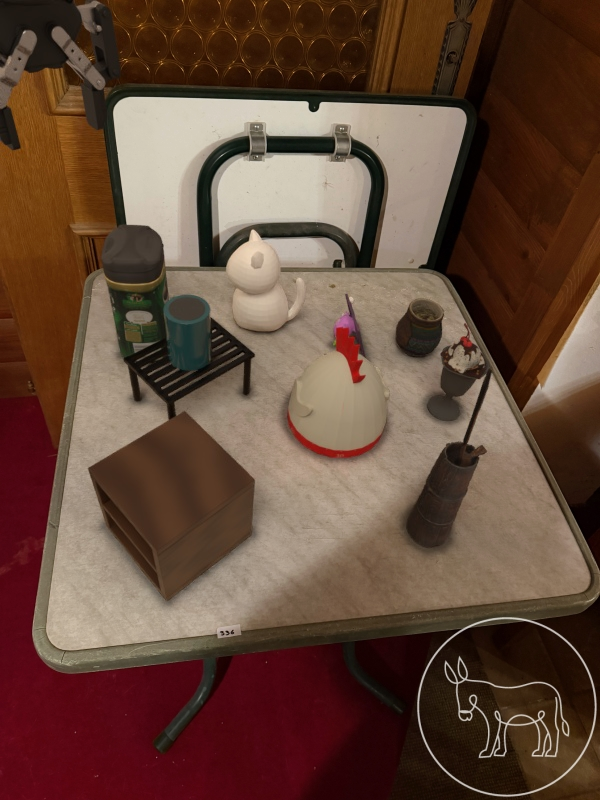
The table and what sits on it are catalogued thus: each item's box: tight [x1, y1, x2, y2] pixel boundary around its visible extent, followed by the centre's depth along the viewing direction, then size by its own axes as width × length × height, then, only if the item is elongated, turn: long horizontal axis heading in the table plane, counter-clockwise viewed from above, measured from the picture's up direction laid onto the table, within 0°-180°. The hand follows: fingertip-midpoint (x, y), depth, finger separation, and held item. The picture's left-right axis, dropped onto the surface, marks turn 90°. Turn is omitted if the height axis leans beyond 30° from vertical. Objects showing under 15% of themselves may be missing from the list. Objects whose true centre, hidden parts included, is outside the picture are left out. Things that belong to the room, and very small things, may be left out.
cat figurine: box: [225, 229, 307, 332], centre depth 87 cm, size 9×12×15 cm
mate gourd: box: [395, 297, 445, 357], centre depth 88 cm, size 7×8×10 cm
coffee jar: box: [100, 224, 170, 363], centre depth 79 cm, size 10×8×19 cm
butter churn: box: [406, 365, 494, 549], centre depth 59 cm, size 9×10×28 cm
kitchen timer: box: [286, 327, 391, 459], centre depth 74 cm, size 14×14×15 cm
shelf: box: [87, 410, 256, 602], centre depth 61 cm, size 12×12×12 cm
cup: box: [163, 294, 212, 372], centre depth 71 cm, size 6×6×8 cm
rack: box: [122, 317, 256, 421], centre depth 77 cm, size 14×10×8 cm
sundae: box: [426, 322, 491, 422], centre depth 78 cm, size 7×7×15 cm
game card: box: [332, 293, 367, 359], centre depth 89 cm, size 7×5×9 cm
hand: (55, 136), depth 54 cm, fingers open, 8 cm apart
